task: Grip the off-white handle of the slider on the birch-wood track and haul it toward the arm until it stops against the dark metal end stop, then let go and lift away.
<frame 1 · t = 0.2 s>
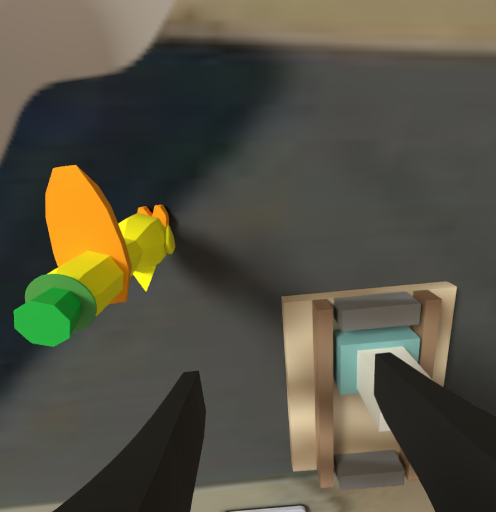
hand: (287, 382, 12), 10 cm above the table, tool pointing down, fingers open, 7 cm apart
slider: (385, 376, 19), point 4 cm above the table, slide at 3.5 cm
toy figure: (156, 217, 20), on the table
track: (361, 380, 24), on the table
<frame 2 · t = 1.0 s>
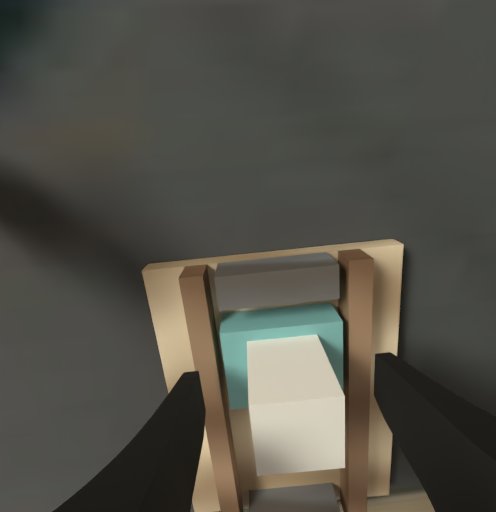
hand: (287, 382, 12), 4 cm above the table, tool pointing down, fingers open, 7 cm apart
slider: (286, 381, 12), point 4 cm above the table, slide at 3.5 cm
track: (280, 385, 17), on the table
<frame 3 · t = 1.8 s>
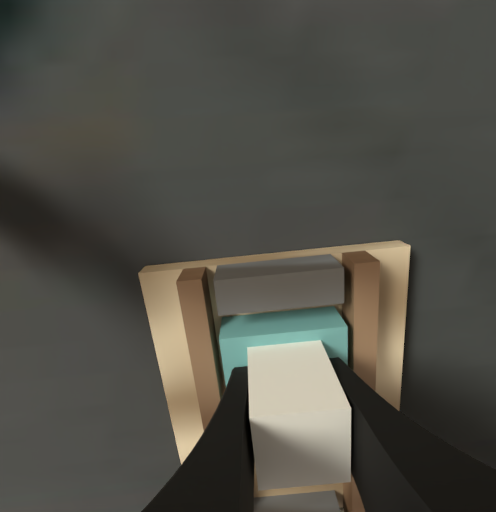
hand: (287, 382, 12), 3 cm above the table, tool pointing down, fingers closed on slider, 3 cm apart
slider: (289, 388, 12), point 4 cm above the table, slide at 3.5 cm, touching gripper
track: (282, 391, 16), on the table
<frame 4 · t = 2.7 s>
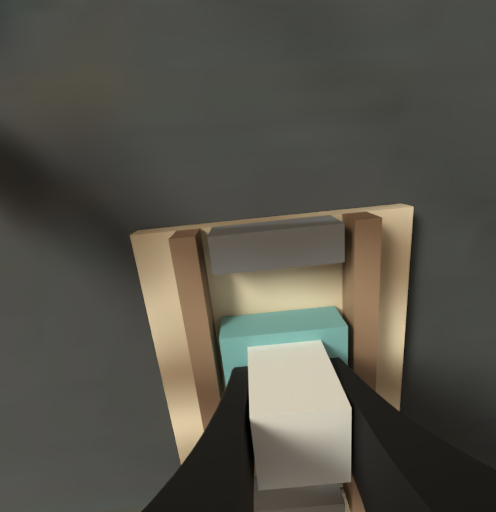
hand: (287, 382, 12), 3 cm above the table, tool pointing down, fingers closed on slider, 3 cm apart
slider: (289, 388, 12), point 4 cm above the table, slide at 1.8 cm, touching gripper
track: (280, 365, 16), on the table
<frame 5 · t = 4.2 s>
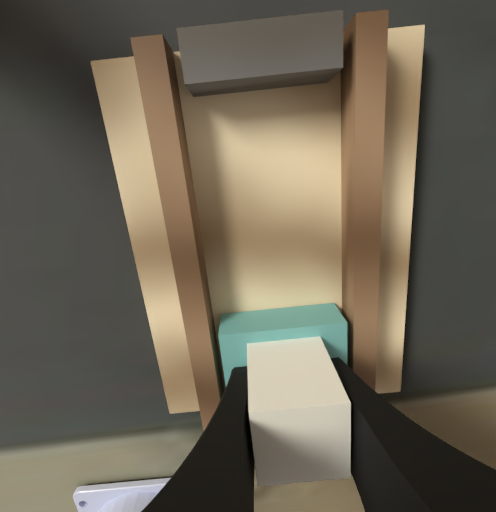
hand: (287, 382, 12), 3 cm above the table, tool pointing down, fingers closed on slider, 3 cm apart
slider: (288, 385, 12), point 4 cm above the table, slide at -4.5 cm, touching gripper, track
track: (271, 249, 14), on the table
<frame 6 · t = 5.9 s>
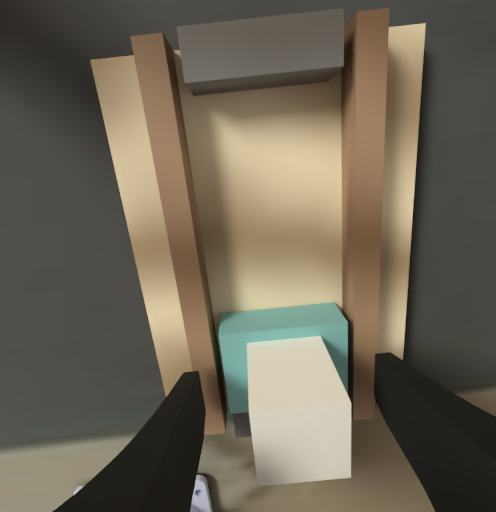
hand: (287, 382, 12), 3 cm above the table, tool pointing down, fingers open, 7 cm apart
slider: (289, 384, 12), point 4 cm above the table, slide at -4.5 cm, touching track
track: (271, 249, 14), on the table
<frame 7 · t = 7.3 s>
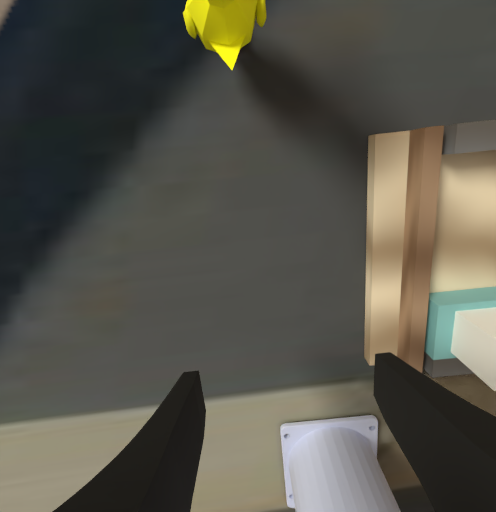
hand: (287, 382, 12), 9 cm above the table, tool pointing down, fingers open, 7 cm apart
slider: (486, 337, 18), point 4 cm above the table, slide at -4.5 cm, touching track
toy figure: (225, 27, 16), on the table
track: (452, 250, 20), on the table
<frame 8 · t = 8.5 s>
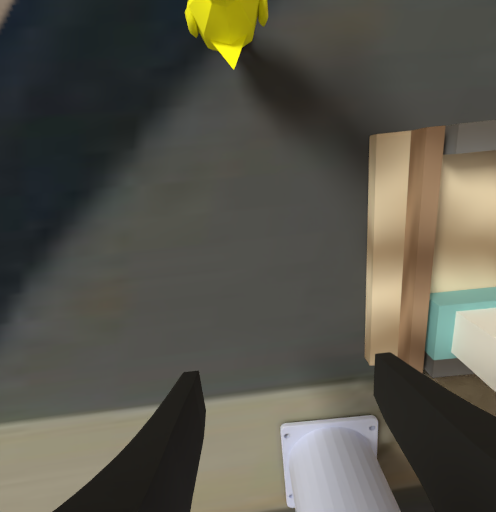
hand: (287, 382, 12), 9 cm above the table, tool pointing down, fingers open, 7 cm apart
slider: (487, 337, 18), point 4 cm above the table, slide at -4.5 cm, touching track
toy figure: (227, 26, 16), on the table
track: (453, 250, 20), on the table
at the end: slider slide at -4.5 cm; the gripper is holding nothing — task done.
